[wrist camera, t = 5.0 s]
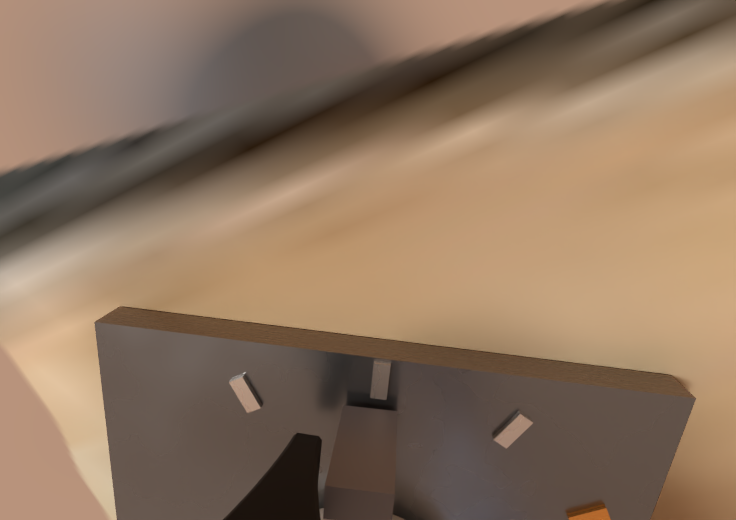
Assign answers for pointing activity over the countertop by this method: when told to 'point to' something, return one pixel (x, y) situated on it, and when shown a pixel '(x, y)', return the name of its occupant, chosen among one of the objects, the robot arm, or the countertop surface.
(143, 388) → the dial plate
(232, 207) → the countertop surface
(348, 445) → the dial
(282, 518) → the robot arm
